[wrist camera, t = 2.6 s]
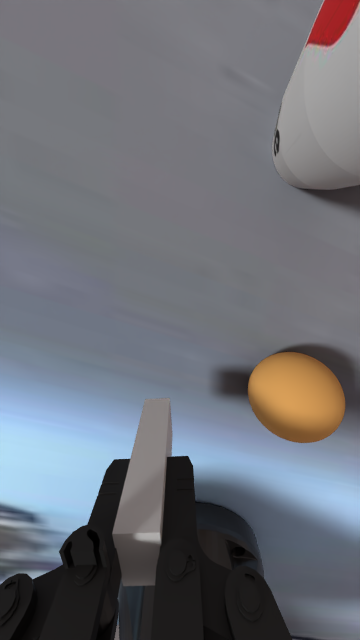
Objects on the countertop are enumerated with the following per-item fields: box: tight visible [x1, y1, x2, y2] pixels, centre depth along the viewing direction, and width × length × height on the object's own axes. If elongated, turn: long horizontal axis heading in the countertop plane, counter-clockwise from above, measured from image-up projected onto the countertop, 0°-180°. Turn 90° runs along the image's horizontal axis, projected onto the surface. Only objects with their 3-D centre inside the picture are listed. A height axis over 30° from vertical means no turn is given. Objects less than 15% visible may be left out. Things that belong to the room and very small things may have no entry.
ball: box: [248, 352, 345, 443], centre depth 15 cm, size 6×6×6 cm
